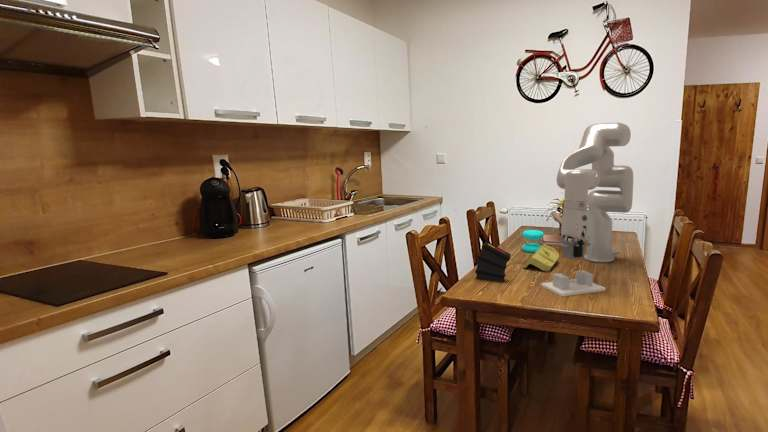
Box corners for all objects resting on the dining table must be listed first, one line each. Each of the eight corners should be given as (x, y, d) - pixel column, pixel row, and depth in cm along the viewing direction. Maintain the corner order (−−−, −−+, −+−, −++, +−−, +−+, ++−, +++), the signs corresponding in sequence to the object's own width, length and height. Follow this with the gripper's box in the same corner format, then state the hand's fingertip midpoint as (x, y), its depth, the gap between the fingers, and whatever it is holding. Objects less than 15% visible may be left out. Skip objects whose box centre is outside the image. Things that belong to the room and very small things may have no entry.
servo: (582, 254, 153) (583, 236, 152) (590, 257, 149) (591, 238, 148) (556, 257, 151) (557, 238, 150) (563, 259, 147) (564, 240, 146)
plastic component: (550, 267, 171) (528, 255, 175) (542, 281, 174) (521, 268, 178) (561, 253, 187) (541, 242, 191) (553, 266, 190) (533, 254, 194)
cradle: (582, 280, 160) (582, 267, 159) (605, 290, 149) (606, 276, 148) (541, 285, 156) (541, 272, 155) (561, 296, 145) (562, 281, 144)
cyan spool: (546, 230, 207) (541, 234, 199) (545, 249, 209) (540, 254, 200) (525, 228, 213) (520, 232, 204) (525, 247, 214) (520, 252, 206)
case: (584, 247, 211) (585, 216, 209) (540, 245, 219) (541, 215, 216) (580, 239, 230) (582, 210, 228) (540, 237, 238) (541, 209, 235)
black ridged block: (470, 271, 171) (486, 240, 166) (499, 288, 167) (516, 257, 162) (467, 274, 168) (483, 243, 163) (497, 291, 164) (514, 259, 159)
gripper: (601, 207, 140) (599, 260, 143) (569, 202, 156) (567, 249, 159) (582, 208, 138) (580, 261, 141) (551, 203, 154) (550, 251, 157)
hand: (573, 254), depth 150 cm, fingers closed on servo, 4 cm apart
